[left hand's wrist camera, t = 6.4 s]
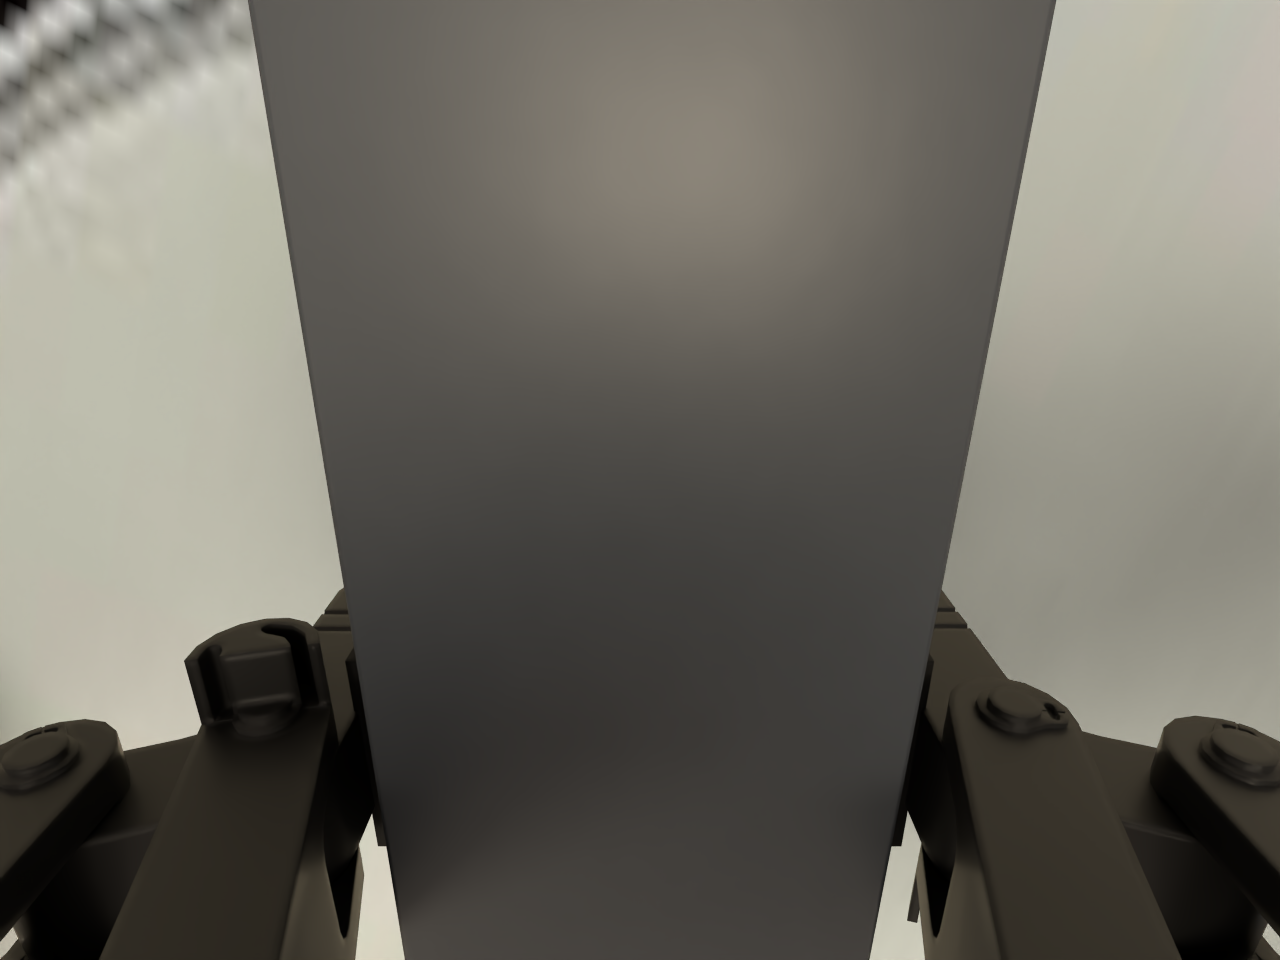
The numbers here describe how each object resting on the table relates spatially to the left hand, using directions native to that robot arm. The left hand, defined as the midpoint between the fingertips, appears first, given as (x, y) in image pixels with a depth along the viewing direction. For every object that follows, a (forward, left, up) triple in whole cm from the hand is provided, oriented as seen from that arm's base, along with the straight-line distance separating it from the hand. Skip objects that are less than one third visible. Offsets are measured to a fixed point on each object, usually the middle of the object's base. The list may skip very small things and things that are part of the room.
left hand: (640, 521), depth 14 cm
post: (+17, -8, 0) cm, 19 cm away
